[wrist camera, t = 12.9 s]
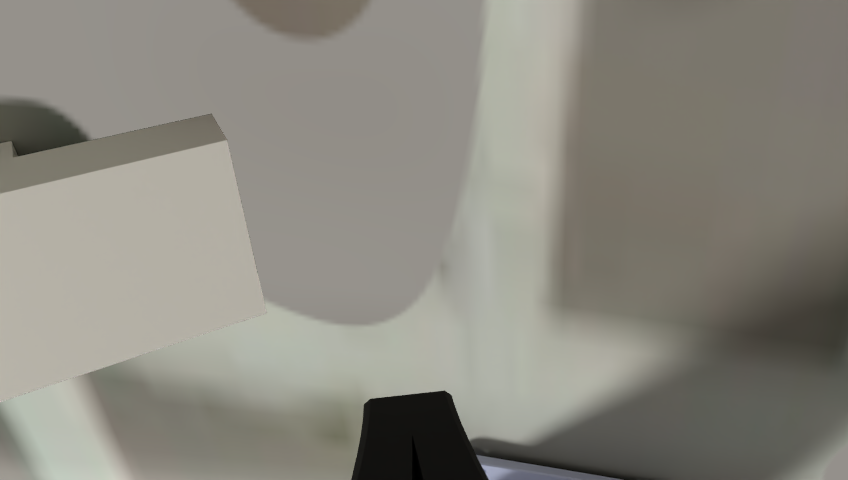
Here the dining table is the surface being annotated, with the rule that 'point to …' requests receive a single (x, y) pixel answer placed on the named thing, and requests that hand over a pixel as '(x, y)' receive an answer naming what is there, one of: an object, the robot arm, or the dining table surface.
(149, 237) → the light grey rectangular block
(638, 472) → the dining table surface
